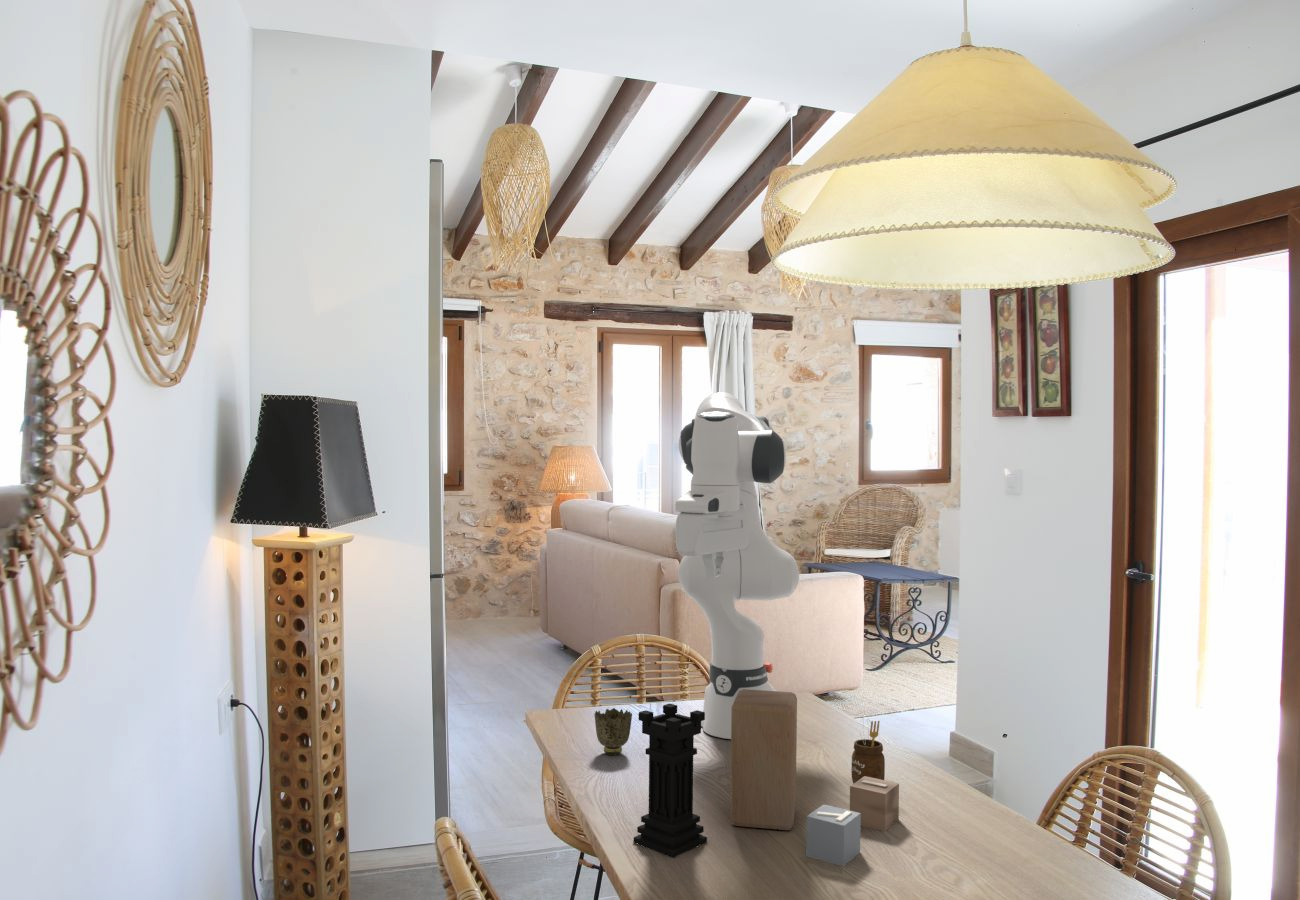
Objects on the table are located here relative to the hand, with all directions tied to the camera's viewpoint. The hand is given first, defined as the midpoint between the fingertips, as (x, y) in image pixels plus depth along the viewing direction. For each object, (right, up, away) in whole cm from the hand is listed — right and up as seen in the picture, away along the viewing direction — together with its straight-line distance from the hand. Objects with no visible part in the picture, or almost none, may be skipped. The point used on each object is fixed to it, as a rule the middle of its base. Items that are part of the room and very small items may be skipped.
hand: (714, 577), depth 176 cm
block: (+7, -38, -17) cm, 42 cm away
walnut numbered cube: (+25, -38, -18) cm, 48 cm away
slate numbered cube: (+16, -38, -31) cm, 51 cm away
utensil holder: (+28, -38, +1) cm, 47 cm away
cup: (-19, -37, +16) cm, 44 cm away
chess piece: (-8, -37, -27) cm, 47 cm away
